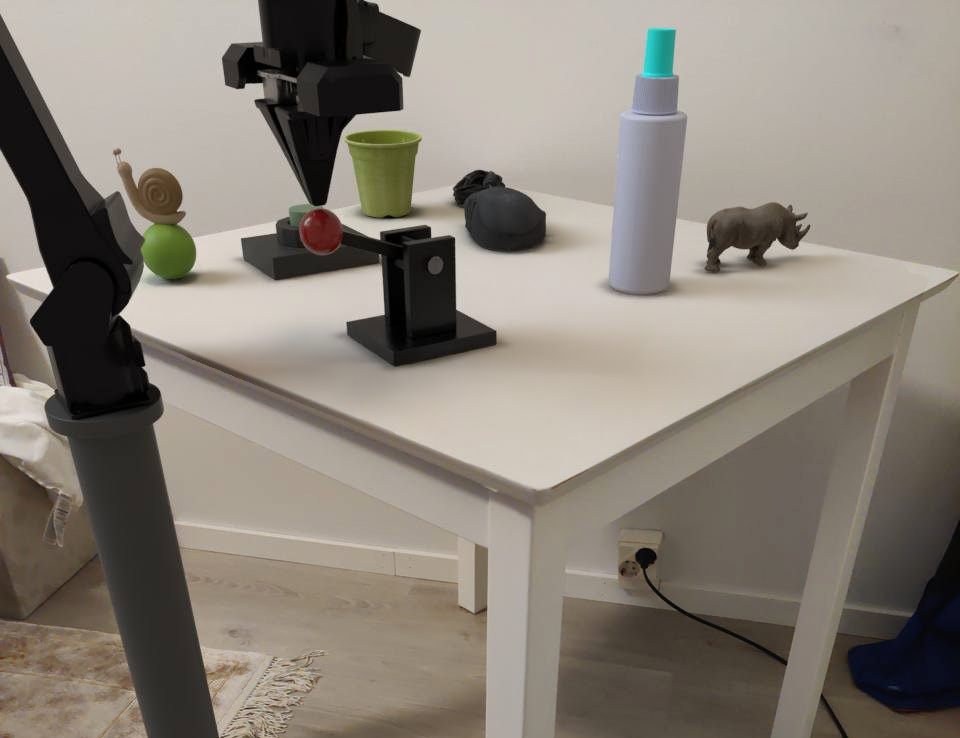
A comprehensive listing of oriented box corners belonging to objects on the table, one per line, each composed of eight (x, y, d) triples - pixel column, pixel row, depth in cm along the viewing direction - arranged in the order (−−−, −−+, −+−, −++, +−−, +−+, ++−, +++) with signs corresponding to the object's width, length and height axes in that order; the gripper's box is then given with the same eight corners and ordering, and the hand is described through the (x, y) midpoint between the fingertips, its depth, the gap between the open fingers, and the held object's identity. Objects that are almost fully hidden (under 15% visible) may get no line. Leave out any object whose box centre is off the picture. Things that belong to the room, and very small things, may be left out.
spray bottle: (626, 274, 102) (646, 25, 89) (679, 284, 99) (708, 28, 86) (597, 288, 98) (614, 29, 85) (651, 299, 95) (677, 33, 82)
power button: (298, 231, 102) (297, 213, 101) (285, 224, 105) (283, 206, 104) (330, 226, 104) (328, 209, 103) (316, 219, 106) (314, 202, 105)
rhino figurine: (818, 260, 106) (830, 200, 103) (712, 275, 102) (720, 213, 98) (794, 251, 109) (804, 192, 106) (690, 265, 105) (697, 205, 101)
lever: (305, 254, 75) (315, 207, 74) (288, 244, 77) (297, 199, 76) (436, 286, 82) (447, 244, 81) (416, 276, 85) (427, 235, 83)
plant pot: (438, 210, 125) (437, 134, 120) (394, 225, 119) (390, 146, 113) (379, 201, 129) (375, 127, 124) (334, 215, 123) (327, 138, 117)
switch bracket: (394, 366, 81) (388, 255, 76) (347, 335, 87) (338, 230, 82) (496, 344, 85) (497, 237, 80) (444, 315, 91) (442, 215, 86)
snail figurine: (149, 269, 104) (125, 143, 97) (208, 271, 103) (187, 145, 96) (128, 284, 99) (100, 154, 92) (188, 286, 99) (166, 155, 92)
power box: (275, 280, 101) (270, 239, 98) (243, 259, 107) (237, 220, 104) (379, 262, 106) (377, 223, 103) (343, 243, 112) (340, 206, 110)
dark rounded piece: (474, 255, 108) (474, 202, 105) (443, 191, 134) (442, 146, 130) (559, 252, 109) (561, 199, 106) (511, 189, 135) (512, 144, 131)
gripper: (470, -41, 63) (471, 217, 73) (344, -47, 76) (359, 172, 85) (310, -38, 59) (333, 237, 68) (205, -46, 71) (236, 186, 81)
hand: (318, 204), depth 75 cm, fingers closed
